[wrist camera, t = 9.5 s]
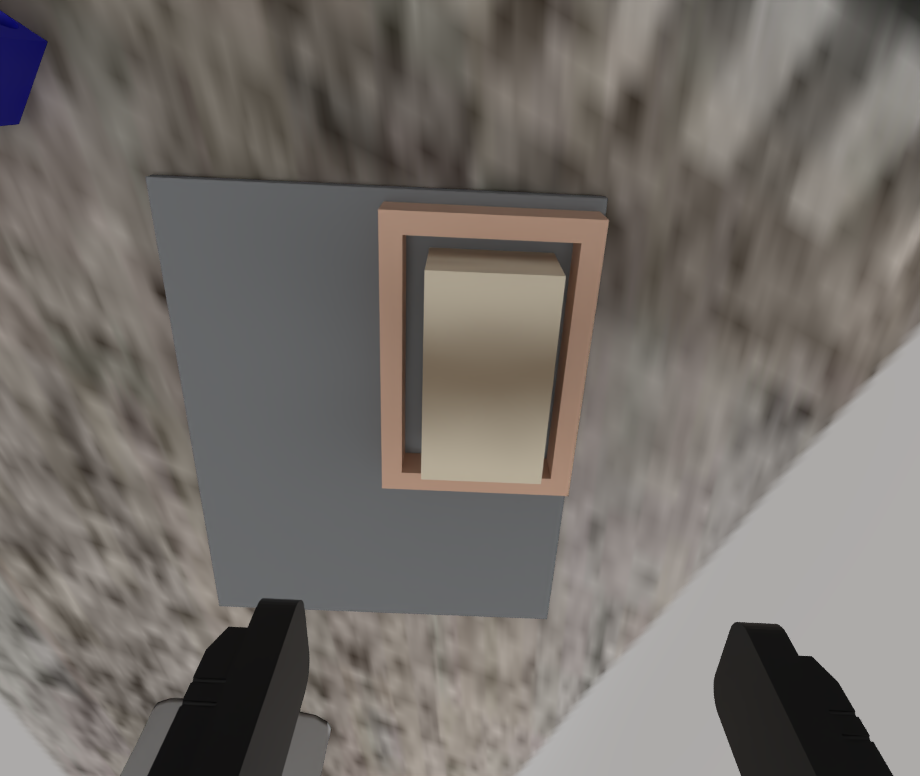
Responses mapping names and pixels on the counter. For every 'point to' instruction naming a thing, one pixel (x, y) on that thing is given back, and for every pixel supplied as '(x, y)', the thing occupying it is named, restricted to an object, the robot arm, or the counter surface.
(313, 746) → the tall pale column
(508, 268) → the beige rectangular prism
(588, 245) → the frame
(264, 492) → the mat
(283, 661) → the robot arm
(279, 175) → the counter surface
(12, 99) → the cable clip
